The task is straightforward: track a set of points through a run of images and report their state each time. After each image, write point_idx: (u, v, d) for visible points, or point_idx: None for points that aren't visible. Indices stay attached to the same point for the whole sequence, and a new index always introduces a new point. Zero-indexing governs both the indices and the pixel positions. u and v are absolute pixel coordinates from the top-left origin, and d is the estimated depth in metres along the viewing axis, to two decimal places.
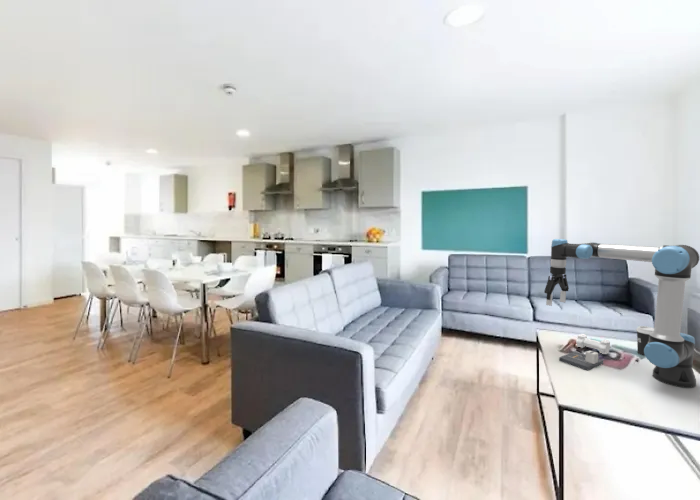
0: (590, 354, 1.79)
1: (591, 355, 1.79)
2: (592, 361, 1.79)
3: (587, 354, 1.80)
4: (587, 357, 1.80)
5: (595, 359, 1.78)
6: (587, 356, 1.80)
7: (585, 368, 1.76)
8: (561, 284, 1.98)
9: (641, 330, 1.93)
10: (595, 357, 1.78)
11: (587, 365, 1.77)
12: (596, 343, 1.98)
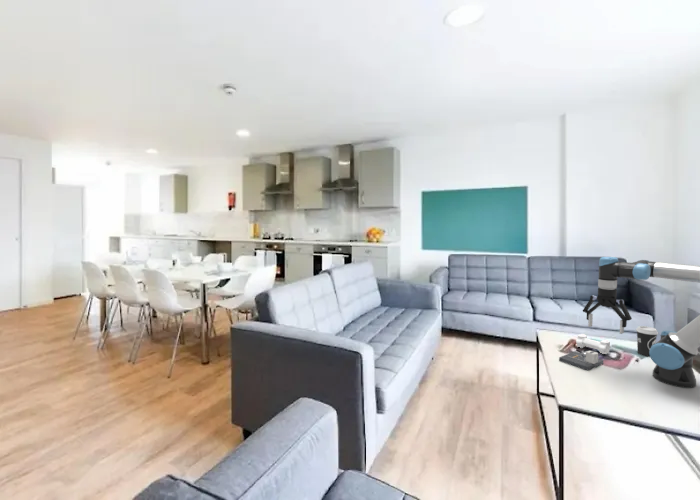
0: (590, 354, 1.79)
1: (591, 355, 1.79)
2: (592, 361, 1.79)
3: (587, 354, 1.80)
4: (587, 357, 1.80)
5: (595, 359, 1.78)
6: (587, 356, 1.80)
7: (585, 368, 1.76)
8: None
9: (641, 330, 1.93)
10: (595, 357, 1.78)
11: (587, 365, 1.77)
12: (596, 343, 1.98)
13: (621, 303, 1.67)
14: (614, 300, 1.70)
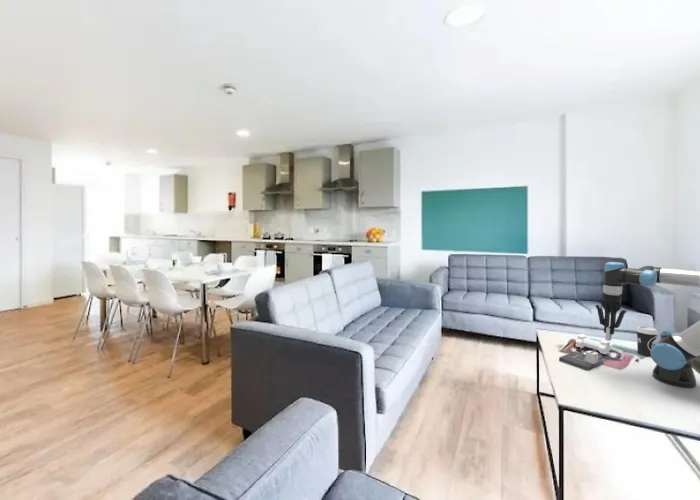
0: (590, 354, 1.79)
1: (591, 355, 1.79)
2: (592, 361, 1.79)
3: (587, 354, 1.80)
4: (587, 357, 1.80)
5: (595, 359, 1.78)
6: (587, 356, 1.80)
7: (585, 368, 1.76)
8: None
9: (641, 330, 1.93)
10: (595, 357, 1.78)
11: (587, 365, 1.77)
12: (596, 343, 1.98)
13: (622, 313, 1.67)
14: (618, 307, 1.68)
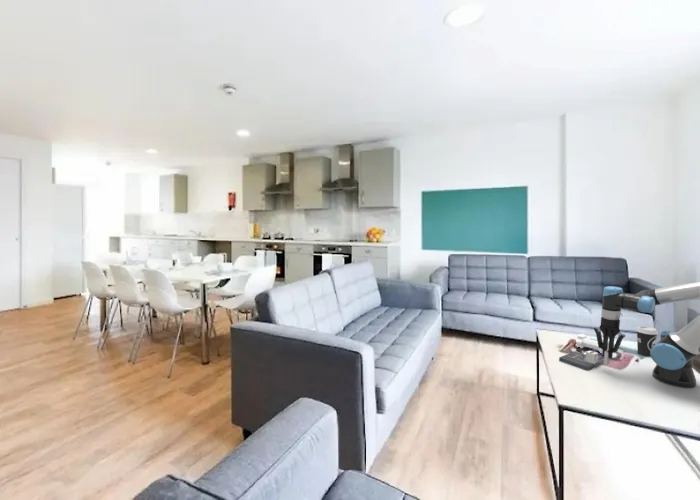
0: (590, 354, 1.79)
1: (591, 355, 1.79)
2: (592, 361, 1.79)
3: (587, 354, 1.80)
4: (587, 357, 1.80)
5: (595, 359, 1.78)
6: (587, 356, 1.80)
7: (585, 368, 1.76)
8: None
9: (641, 330, 1.93)
10: (595, 357, 1.78)
11: (587, 365, 1.77)
12: (596, 343, 1.98)
13: (620, 338, 1.68)
14: (617, 331, 1.69)
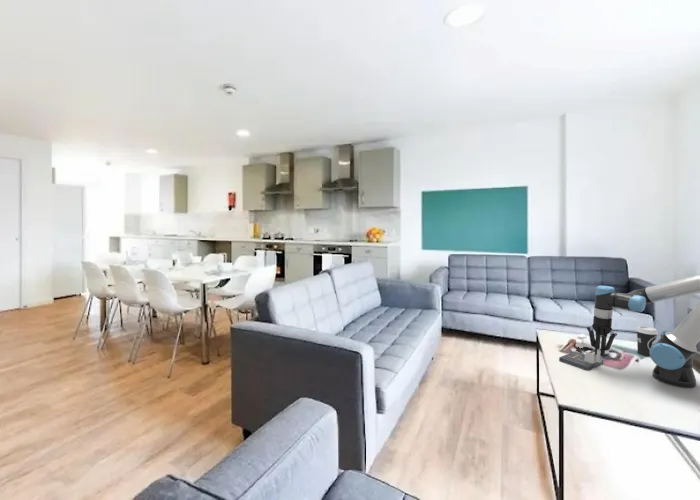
0: (589, 354, 1.79)
1: (590, 355, 1.79)
2: (591, 361, 1.79)
3: (586, 354, 1.81)
4: (586, 357, 1.81)
5: (594, 358, 1.79)
6: (586, 356, 1.81)
7: (585, 368, 1.76)
8: None
9: (641, 330, 1.93)
10: (594, 357, 1.79)
11: (587, 365, 1.77)
12: None
13: (612, 336, 1.71)
14: (609, 330, 1.72)
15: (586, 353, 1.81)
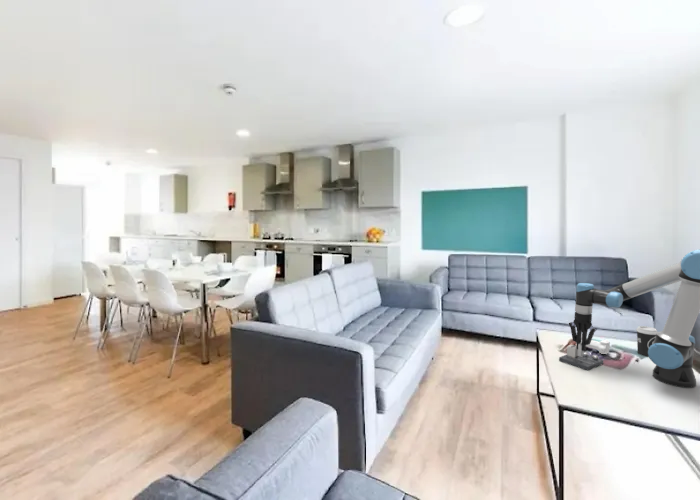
0: (571, 348, 1.87)
1: (572, 349, 1.87)
2: (573, 355, 1.87)
3: (568, 348, 1.88)
4: (568, 351, 1.88)
5: (575, 352, 1.86)
6: (568, 350, 1.88)
7: (585, 368, 1.76)
8: None
9: (641, 330, 1.93)
10: (576, 351, 1.86)
11: (587, 365, 1.77)
12: (596, 343, 1.98)
13: (592, 331, 1.79)
14: (589, 325, 1.80)
15: (568, 347, 1.89)
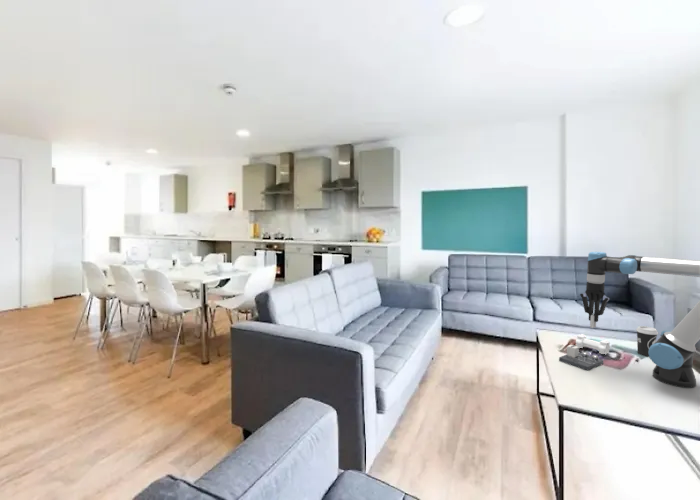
0: (571, 348, 1.87)
1: (572, 349, 1.87)
2: (573, 355, 1.87)
3: (568, 348, 1.88)
4: (568, 351, 1.89)
5: (575, 352, 1.86)
6: (568, 350, 1.89)
7: (585, 368, 1.76)
8: None
9: (641, 330, 1.93)
10: (575, 351, 1.86)
11: (587, 365, 1.77)
12: (596, 343, 1.98)
13: (605, 300, 1.73)
14: (602, 295, 1.74)
15: (568, 347, 1.89)
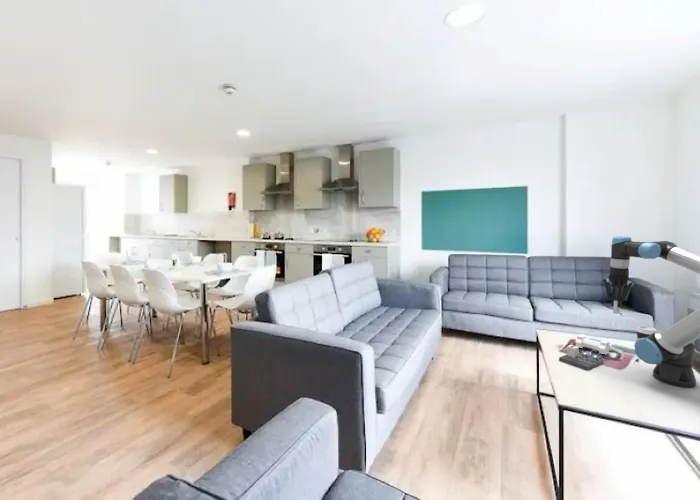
0: (571, 348, 1.87)
1: (572, 349, 1.87)
2: (573, 355, 1.87)
3: (568, 348, 1.88)
4: (568, 351, 1.89)
5: (575, 352, 1.86)
6: (568, 350, 1.89)
7: (585, 368, 1.76)
8: None
9: (641, 330, 1.93)
10: (575, 351, 1.86)
11: (587, 365, 1.77)
12: (596, 343, 1.97)
13: (629, 285, 1.70)
14: (626, 280, 1.71)
15: (568, 347, 1.89)
